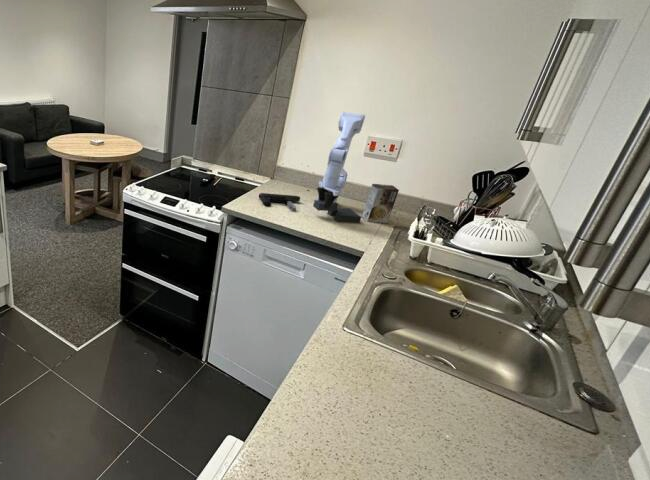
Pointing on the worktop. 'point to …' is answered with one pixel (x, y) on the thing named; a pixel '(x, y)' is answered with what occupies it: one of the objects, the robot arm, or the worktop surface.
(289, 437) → the worktop surface
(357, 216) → the notch pad
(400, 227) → the worktop surface
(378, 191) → the coffee box
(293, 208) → the door handle
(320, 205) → the pad
